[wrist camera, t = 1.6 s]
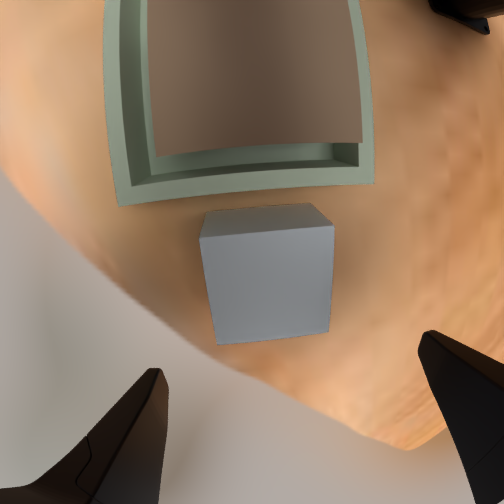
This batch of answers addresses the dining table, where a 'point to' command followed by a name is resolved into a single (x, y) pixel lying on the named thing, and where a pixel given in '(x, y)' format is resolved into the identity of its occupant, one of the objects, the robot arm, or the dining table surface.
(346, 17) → the walnut block
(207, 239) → the gray block
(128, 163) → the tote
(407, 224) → the dining table surface
